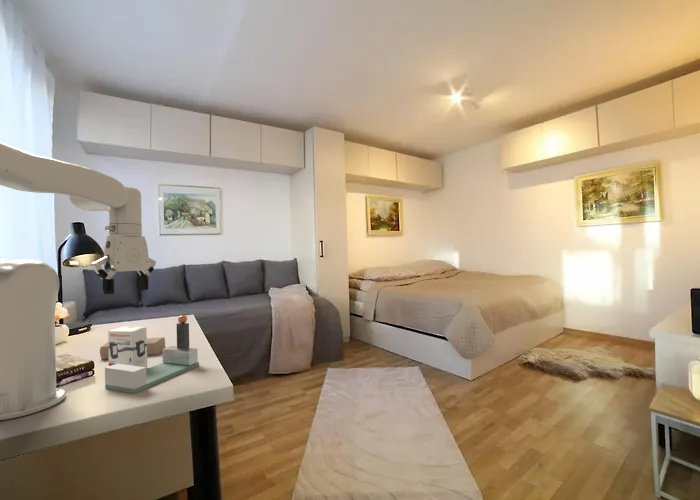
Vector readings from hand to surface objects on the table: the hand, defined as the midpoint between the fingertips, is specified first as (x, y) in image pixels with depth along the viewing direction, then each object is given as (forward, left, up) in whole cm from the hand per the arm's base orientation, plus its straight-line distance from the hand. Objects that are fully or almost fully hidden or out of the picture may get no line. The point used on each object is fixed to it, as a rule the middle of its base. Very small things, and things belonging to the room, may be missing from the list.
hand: (126, 291), depth 89 cm
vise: (-1, -12, -22) cm, 25 cm away
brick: (+12, +14, -23) cm, 29 cm away
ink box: (0, 0, -22) cm, 22 cm away
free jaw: (+7, -12, -21) cm, 25 cm away
